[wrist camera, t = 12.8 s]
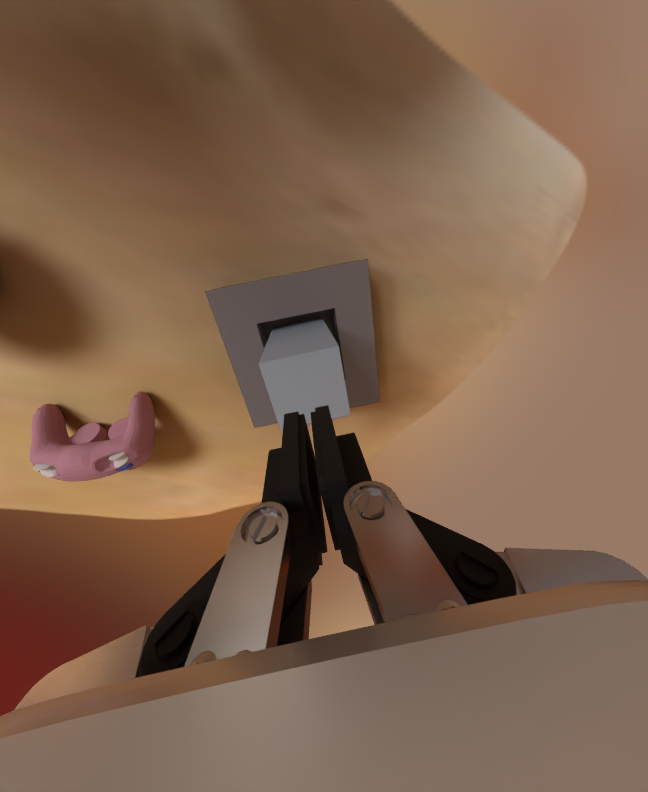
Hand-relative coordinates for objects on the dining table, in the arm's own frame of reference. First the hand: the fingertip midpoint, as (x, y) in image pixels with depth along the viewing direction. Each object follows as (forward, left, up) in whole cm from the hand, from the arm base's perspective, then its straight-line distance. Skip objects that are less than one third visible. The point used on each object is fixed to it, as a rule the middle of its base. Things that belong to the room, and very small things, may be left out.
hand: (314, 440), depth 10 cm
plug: (0, 0, -15) cm, 15 cm away
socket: (0, 0, -15) cm, 15 cm away
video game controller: (+4, -20, -15) cm, 26 cm away
